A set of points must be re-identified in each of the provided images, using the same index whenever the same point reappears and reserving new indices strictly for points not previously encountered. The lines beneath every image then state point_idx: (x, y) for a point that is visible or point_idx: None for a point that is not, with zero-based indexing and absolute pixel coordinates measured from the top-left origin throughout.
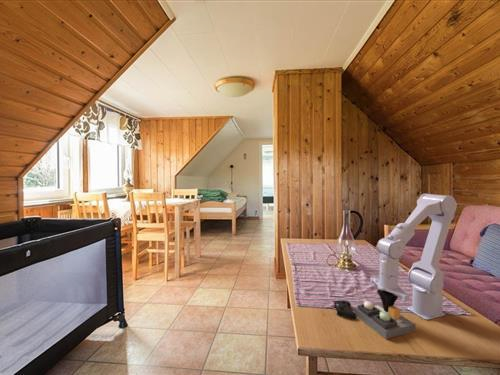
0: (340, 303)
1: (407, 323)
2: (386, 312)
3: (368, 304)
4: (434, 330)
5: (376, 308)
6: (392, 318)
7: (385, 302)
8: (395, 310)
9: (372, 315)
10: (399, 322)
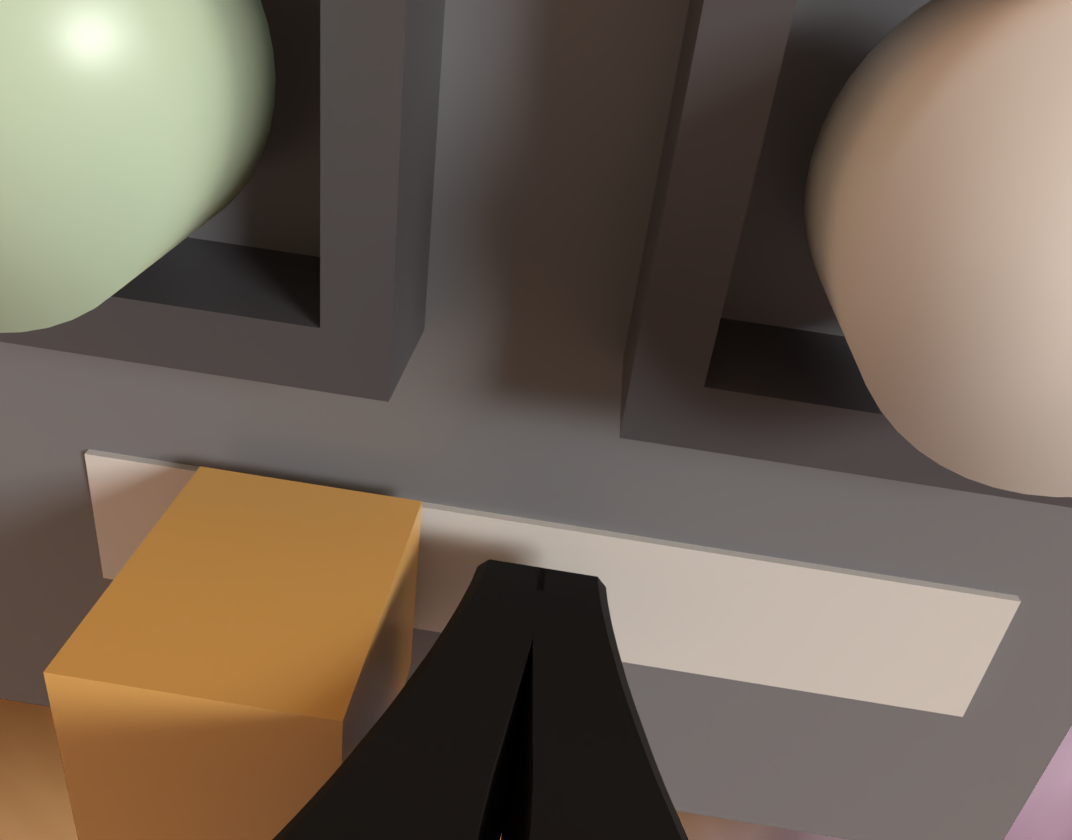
0: None
1: (14, 590)
2: (50, 314)
3: (1065, 136)
4: (31, 819)
5: (764, 428)
6: (291, 480)
7: (416, 832)
8: (56, 705)
9: (684, 18)
10: (93, 475)
